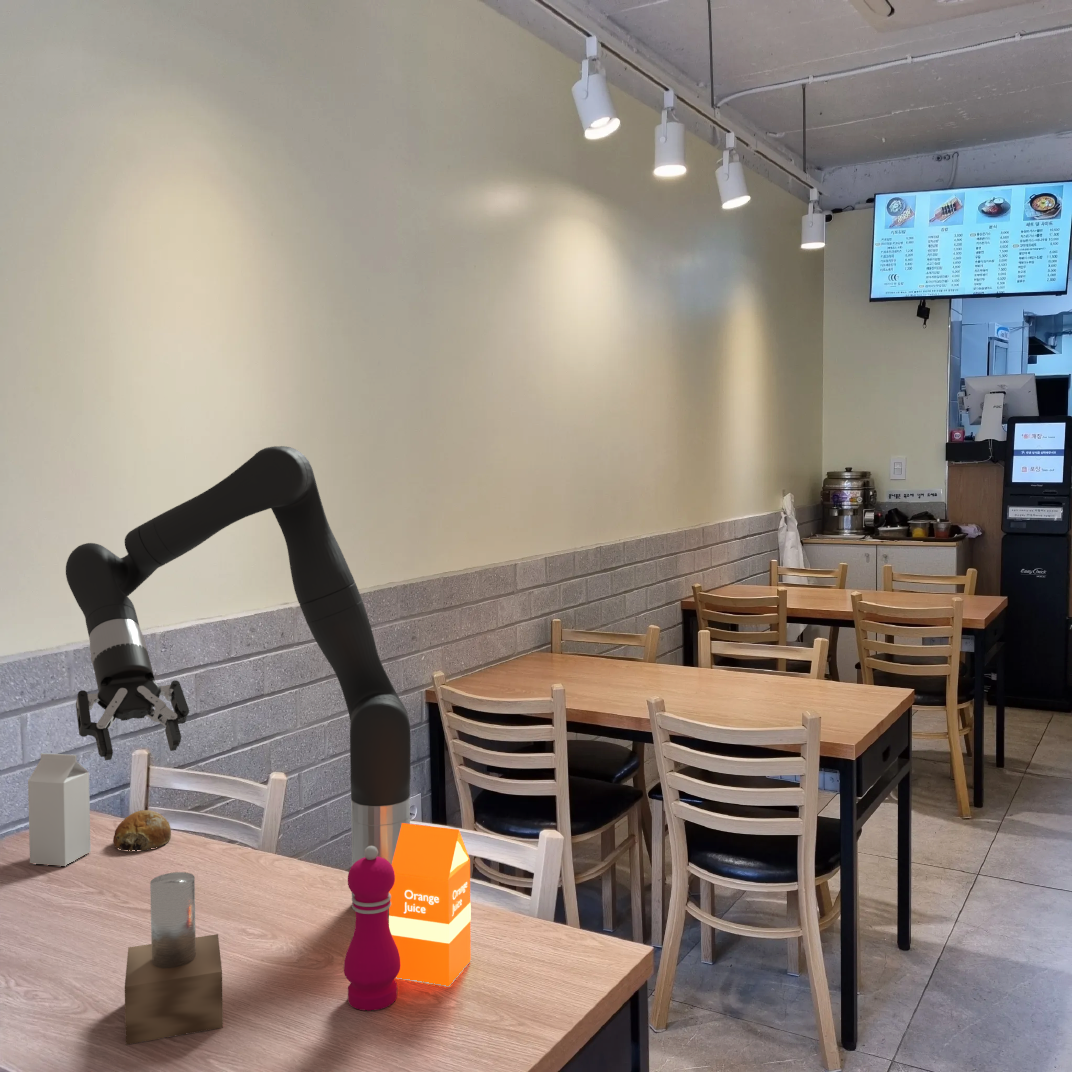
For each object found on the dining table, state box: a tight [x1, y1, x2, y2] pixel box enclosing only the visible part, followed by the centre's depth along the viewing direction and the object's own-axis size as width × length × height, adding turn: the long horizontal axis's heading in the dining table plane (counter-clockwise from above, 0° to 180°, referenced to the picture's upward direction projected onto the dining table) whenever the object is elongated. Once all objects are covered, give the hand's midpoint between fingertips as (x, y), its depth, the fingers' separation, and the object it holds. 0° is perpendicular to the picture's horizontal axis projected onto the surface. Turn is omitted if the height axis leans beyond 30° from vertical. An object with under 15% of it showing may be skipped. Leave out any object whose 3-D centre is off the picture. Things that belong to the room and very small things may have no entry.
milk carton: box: [27, 753, 91, 867], centre depth 178 cm, size 7×7×19 cm
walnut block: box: [124, 933, 224, 1045], centre depth 125 cm, size 11×11×7 cm
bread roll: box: [112, 809, 172, 851], centre depth 186 cm, size 10×10×8 cm
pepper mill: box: [343, 846, 401, 1012], centre depth 128 cm, size 7×7×20 cm
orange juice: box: [388, 823, 472, 986], centre depth 136 cm, size 8×9×20 cm
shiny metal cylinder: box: [149, 871, 197, 968], centre depth 125 cm, size 5×5×10 cm
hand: (142, 752), depth 136 cm, fingers open, 8 cm apart
